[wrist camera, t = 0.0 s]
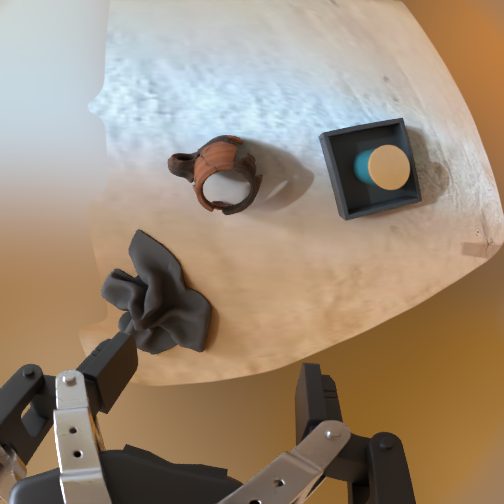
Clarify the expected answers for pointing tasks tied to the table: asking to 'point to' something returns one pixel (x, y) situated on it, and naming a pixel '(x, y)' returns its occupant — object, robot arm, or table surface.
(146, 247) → the cloth
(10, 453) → the robot arm
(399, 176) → the spice jar
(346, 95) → the table surface
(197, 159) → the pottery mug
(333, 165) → the bin
